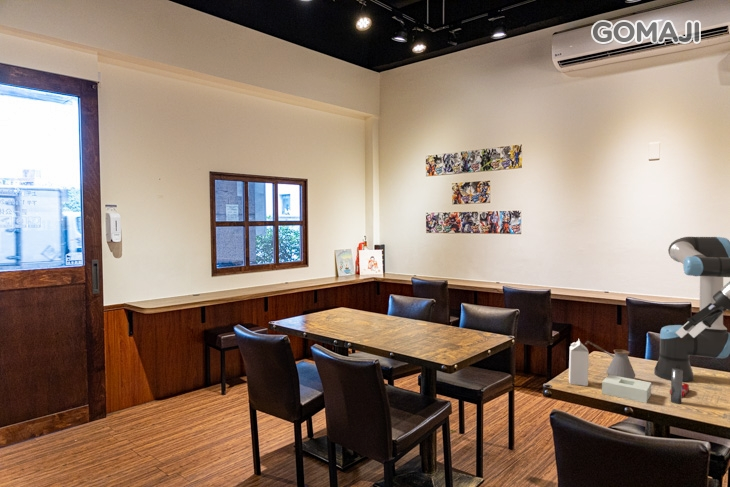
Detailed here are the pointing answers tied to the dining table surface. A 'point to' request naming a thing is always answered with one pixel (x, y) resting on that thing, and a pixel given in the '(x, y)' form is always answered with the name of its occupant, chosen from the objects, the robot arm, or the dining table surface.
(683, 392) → the race car
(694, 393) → the dining table surface
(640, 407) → the dining table surface
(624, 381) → the hole block
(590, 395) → the dining table surface
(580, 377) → the milk carton
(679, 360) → the robot arm
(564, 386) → the dining table surface
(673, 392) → the peg
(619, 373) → the coffee pot
